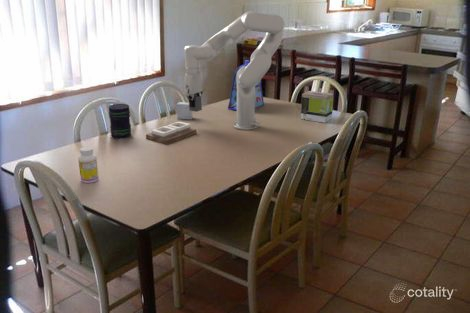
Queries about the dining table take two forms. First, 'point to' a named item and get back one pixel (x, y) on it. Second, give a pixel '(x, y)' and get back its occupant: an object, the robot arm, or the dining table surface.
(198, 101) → the plug
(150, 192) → the dining table surface
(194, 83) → the robot arm
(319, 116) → the tea box
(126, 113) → the storage jar
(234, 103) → the lunch bag
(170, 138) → the walnut board
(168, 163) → the dining table surface
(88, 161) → the supplement bottle
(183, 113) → the medicine box
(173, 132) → the socket plate
